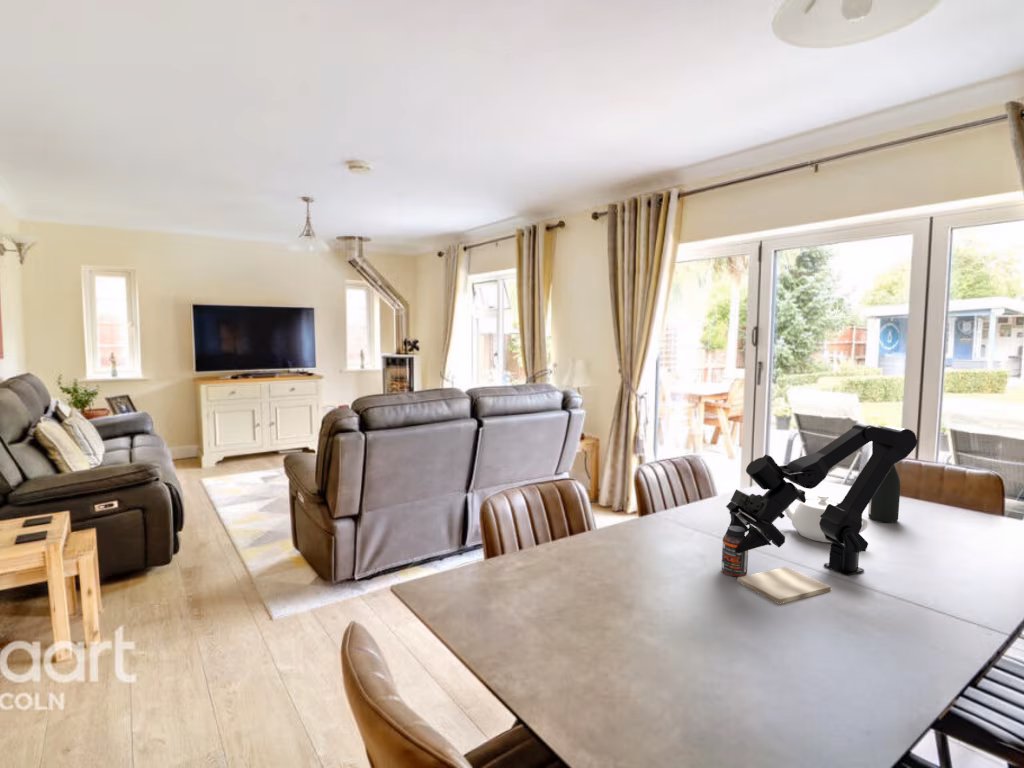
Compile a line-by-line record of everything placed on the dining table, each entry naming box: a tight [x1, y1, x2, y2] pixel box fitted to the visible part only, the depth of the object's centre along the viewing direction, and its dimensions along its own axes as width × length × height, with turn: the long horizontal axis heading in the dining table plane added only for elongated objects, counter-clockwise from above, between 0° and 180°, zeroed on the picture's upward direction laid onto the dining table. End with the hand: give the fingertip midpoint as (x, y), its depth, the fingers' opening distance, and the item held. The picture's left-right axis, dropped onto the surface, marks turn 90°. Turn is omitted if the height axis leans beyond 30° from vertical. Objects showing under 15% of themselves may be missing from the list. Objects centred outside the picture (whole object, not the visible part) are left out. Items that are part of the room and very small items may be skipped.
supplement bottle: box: [721, 526, 749, 578], centre depth 136 cm, size 6×6×11 cm
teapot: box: [784, 494, 869, 543], centre depth 161 cm, size 25×16×12 cm, turn 40°
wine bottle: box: [867, 464, 901, 524], centre depth 175 cm, size 8×8×30 cm
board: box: [737, 566, 832, 605], centre depth 129 cm, size 16×12×1 cm
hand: (729, 546), depth 136 cm, fingers closed on supplement bottle, 6 cm apart
